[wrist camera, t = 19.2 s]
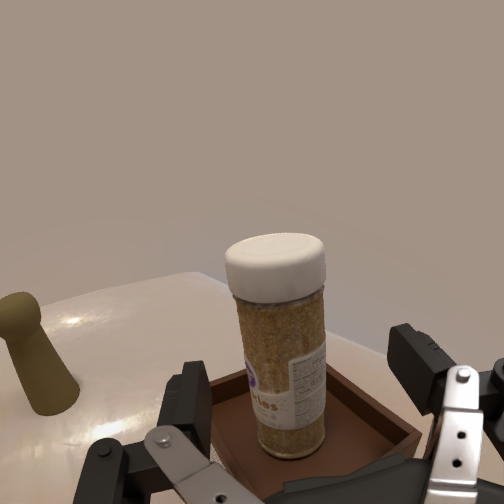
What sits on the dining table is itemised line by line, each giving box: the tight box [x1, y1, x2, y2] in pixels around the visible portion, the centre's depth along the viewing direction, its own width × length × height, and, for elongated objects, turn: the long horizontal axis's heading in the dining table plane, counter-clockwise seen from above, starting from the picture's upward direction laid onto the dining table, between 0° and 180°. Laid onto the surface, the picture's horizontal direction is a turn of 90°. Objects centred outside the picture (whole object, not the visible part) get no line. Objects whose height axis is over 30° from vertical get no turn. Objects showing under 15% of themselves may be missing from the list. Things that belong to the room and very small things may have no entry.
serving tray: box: [209, 363, 422, 501], centre depth 18 cm, size 13×10×3 cm
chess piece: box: [0, 292, 80, 416], centre depth 22 cm, size 6×6×11 cm
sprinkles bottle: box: [225, 233, 326, 459], centre depth 16 cm, size 5×5×14 cm
